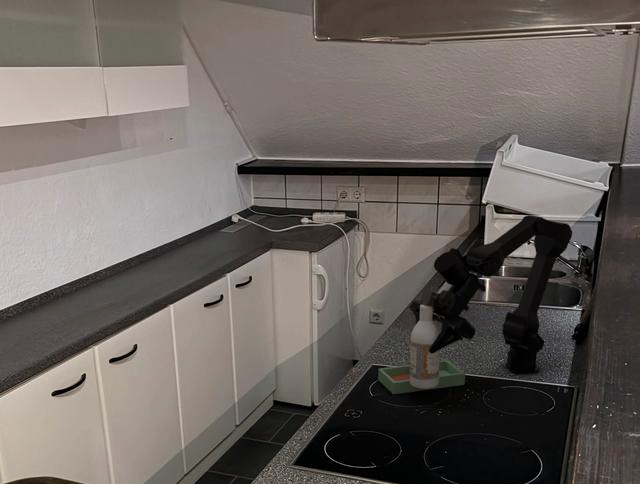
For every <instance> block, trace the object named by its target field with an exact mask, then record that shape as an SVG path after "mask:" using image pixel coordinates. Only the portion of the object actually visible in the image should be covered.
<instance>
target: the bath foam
mask: <svg viewBox="0 0 640 484" xmlns="http://www.w3.org/2000/svg"><path fill="white" fill-rule="evenodd" d="M433 311H434V309H433V306H431V305H429V304H427V303H426V304H421V305H420V320H419V321H418V323H417V324H416V325H415V324H414V327H413V328H412V331H411V334H410V340H411V341H409V344H410V345H409V346H410V347H409V349H410V351H409V354H410V355H409V365H410V384H411V385H412V386H413V387H416V388H420V389H429V390H431V389H430V388H434V387H436V386H437V385H438V383H439V363H440V361H441V360H440V359H441V349H440V350H438V351H436V352H435V353H433V354H431V353H430V352H429V350H430V348H431V346H432V344H433V343H434V341H435V340H436V338H437V337H438V335H439V334H440V330H439V328H438V326H437V324H436V323H435V322H434V321H433V320H432V315H433Z"/></svg>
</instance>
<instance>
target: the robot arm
mask: <svg viewBox="0 0 640 484" xmlns="http://www.w3.org/2000/svg"><path fill="white" fill-rule="evenodd" d="M572 237H573V231H572V228H571V225H570V224H569V223H567V222H560V221H555V220H550V219H546V218H544V217H542V216H539V215H532V214H528V215H525V216H523V217H522V219H521V220H520V221H519V222H517V224H515V225H514V226H512V227H511V228H510V229H508V230H507V231H506V232H504V233H503V234H502V235H500V236H499V237H498V238H496V239H495V240H493V241H491V242H489V243H486V244H485V243H484V244H481V245H479V246H476V247H474V248H472V249H471V250H469V251H468V252H467V253H466V254H464V255H463V254H462V253H461V251H460V250H459V249H457V248H454V247H451V248H450V249H449V251H446V252H444V253H441V254H440V255H439V256H437V257H436V259H435V260H434V263H433V269H434V270H435V271H436V272H437V273H438V274H439V276H440V277H441V278H442V279H443V281H445V283H447V284H448V285H450V287H449V288H448V289H447V290H446V289H443V290H441V291H440V292H439V293H438V292H435V291H432V290H430V289H427V288H423V290H422V292H421V295H420V297H419V300H417V299H416V300H413V301H412V302H411V303H410V305H409V306H408V309H409V310H410V311H411V312H412V314H413V316H414V318H415V323H414V326H415V325H416V324H417V323H418V321H419V320H420V305H421V304H429V305H431V306H433V315H432V320H433V322H434V321H435V322H438V323H440V324H441V328H440V331H439V333H440V334H439V335H438V337H437V338H436V340H435V341H434V343H433V344H432V346H431V348H430V350H429V352H430V353H431V354H433V353H435V352H436V351H438V350H440V351H441V350H442V349H444V348H446V347H448V346H449V345H452V344H454V343H456V342H458V341H463V340H464V339H466V340H468V341H471V340H472V339H473V338H474V337H475V335H476V328H475V327H474V326H473V325H472V324H471V322H470V321H469V320H467V318H466V317H464V316H463V317H462V316H460V315H461V314H462V313H463V311H465V312H469V310H470V307H469V306H468V305H469V303H470V302H471V300H472V299H473V298H474V296H475V295H476V294H477V292H478V291H480V292H482V293H485V292H486V291H487V287H486V280H484V279H483V278H479V277H478V276H479V275H480V276H483V277H486V278H491V277H494V275H496V274H497V272H498V271H499V270H500V269H501V268H503V266H504V262H505V259H506V258H508V257H509V256H510V255H511V254H513V253H514V252H516V251H517V250H519V248H521V247H523V245H524V244H526V243H527V242H529V241H530V240H531V239H533V238H534V239H533V246H534V249H535V256H534V259H533V263H532V265H531V268H530V271H529V274H528V276H527V279H526V282H525V285H524V288H523V291H522V293H521V297H520V299H519V302H518V306H517V307H516V308H515V309H514V310H513V311H512V312H510V311H508V312H507V313H506V314H505V319H504V322H503V324H502V325H501V326H502V335H503V339H504V344H505V345H507V346H509V351H507V355H506V362H505V366H506V367H507V368H508V370H510V371H511V372H513V373H514V374H528V373H538V372H539V369H538V368H537V367H536V366H537V357H538V356H537V355H538V353H540V351H542V350H543V349H544V346H545V340H544V339H543V338H542V336H541V335H540V334H539V328H540V321H539V317H538V316H539V315H538V313H539V309H540V306H541V302H542V300H543V297H544V294H545V291H546V288H547V285H548V283H549V280H550V277H551V274H552V272H553V269H554V265H555V262H556V260H557V258H559V257H560V256H561V255H562V254H563V253H564V252H565V251H566V250H567V249H568V246H569V243H570V241H571V240H572ZM477 275H478V276H477ZM410 341H411V339H410ZM410 341H409V342H410Z"/></svg>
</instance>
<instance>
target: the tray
mask: <svg viewBox="0 0 640 484" xmlns="http://www.w3.org/2000/svg"><path fill="white" fill-rule="evenodd" d="M377 371H378V372H377V373H378V376H377V380H378V381H379V383H381V385H383V386H384V387H385V388H386V389H387V390H388V391H389V392H390V393H391V394H392V395H398V394H406V393H413V392H420V391H421V392H422V391H429V390H436V389H443V388H444V389H445V388H450V387H451V388H452V387H459V386H464V385H465V384H466V383H465V382H466V373H465V372H464V371H463V370H461V369H460V368H459V367H458V366H456V365H454V364H453V363H452V362H451V361H449V360H448V359H443V360H440V363H439V383H438V385H437V386H436V387H434V388H430V389H420V388H416V387H413V386H412V385H411V384H410V364H406V365H405V364H404V365H396V366H390V367H380V368H378V370H377Z"/></svg>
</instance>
